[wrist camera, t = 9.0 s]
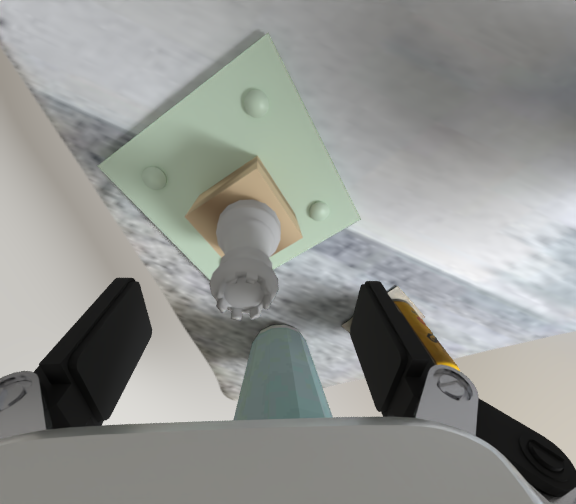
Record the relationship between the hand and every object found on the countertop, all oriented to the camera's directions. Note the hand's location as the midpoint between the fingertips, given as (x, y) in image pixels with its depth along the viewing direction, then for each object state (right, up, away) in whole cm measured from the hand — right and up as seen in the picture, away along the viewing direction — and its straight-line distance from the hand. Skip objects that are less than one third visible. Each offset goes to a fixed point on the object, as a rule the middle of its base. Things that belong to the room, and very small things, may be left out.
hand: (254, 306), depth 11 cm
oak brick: (-2, +7, +12) cm, 13 cm away
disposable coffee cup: (0, -9, +22) cm, 24 cm away
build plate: (-3, +8, +12) cm, 14 cm away
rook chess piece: (-1, +4, +8) cm, 9 cm away
